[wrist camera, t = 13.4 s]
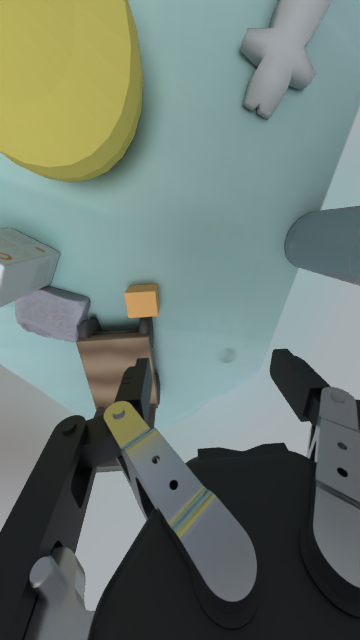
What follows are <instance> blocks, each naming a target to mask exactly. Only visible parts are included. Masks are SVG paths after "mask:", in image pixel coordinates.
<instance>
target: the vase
mask: <svg viewBox="0 0 360 640" xmlns="http://www.w3.org/2000/svg"><path fill="white" fill-rule="evenodd" d="M142 93H143V74H142V67H141V59H140V51H139V44H138V38H137V31H136V26H135V23H134V20H133V16H132V13H131V10H130V7H129V4H128V1H127V0H0V152H1V153H2V154H4V155H5V156H6V157H7V158H9V159H10V160H11V161H13V162H14V163H15V164H17V165H19V166H21V167H24V168H26V169H28V170H30V171H32V172H34V173H36V174H38V175H41V176H44V177H47V178H49V179H55V180H60V181H66V182H77V181H85V180H91V179H93V178H95V177H97V176H99V175H101V174H103V173H105V172H107V171H109V170H110V169H111V168H112V167H113V166H114V165H115V164H116V163H117V162H118V161H119V160H120V159H121V158H122V157H123V155H124V154H125V152H126V150H127V148H128V147H129V145H130V143H131V141H132V140H133V138H134V136H135V132H136V129H137V125H138V121H139V118H140V114H141V110H142Z"/></svg>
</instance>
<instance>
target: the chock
mask: <svg viewBox="0 0 360 640" xmlns="http://www.w3.org/2000/svg"><path fill="white" fill-rule="evenodd" d="M124 295H125V301H126V306H127V312H128V318H139V317H153V316H158V313H159V297H158V287H157V284H145V285H130V286H129V287H128V289H127V290H126V291H125V293H124Z"/></svg>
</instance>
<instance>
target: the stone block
mask: <svg viewBox="0 0 360 640" xmlns="http://www.w3.org/2000/svg"><path fill="white" fill-rule="evenodd" d="M15 306H16V308H15V314H16V319H17V322H18V324H20V325H21V327H22V328H23V329H25V330H26V331H28V332H34V333H36V334H38V335H41V336H44V337H49V338H51V337H52V338H54V339H58V340H65V341H69V342H75V341H77V340H78V339H79V328H80V324H81V322H82V321H83V320H87V319H88V316H87V314H88V310H89V299H88V298H87V297H85V296H82V295H78V294H74V293H71V292H67V291H63V290H60V289H56V288H53V287H49V286H45V287H42V288H40V289H38V290H36V291H34V292H32V293H30V294H27V295H25V296H23V297H21V298H19V299H17V300H16V305H15Z"/></svg>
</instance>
